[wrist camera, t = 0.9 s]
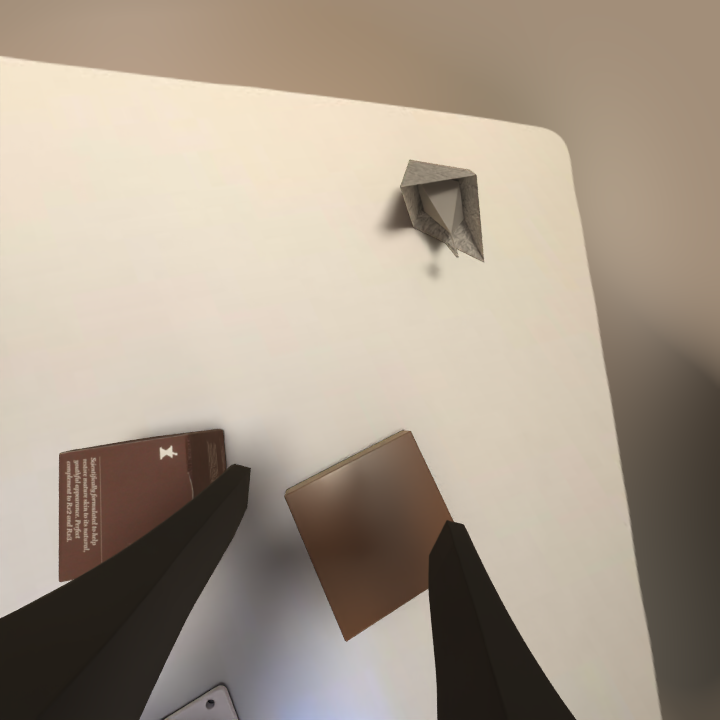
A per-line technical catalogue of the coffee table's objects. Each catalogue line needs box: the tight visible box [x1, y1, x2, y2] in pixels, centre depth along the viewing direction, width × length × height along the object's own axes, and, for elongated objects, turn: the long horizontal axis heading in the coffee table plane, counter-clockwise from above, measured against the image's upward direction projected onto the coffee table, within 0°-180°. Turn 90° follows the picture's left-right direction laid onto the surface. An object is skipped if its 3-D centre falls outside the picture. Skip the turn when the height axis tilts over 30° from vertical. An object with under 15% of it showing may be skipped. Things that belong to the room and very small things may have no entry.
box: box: [59, 429, 226, 582], centre depth 19 cm, size 6×6×7 cm
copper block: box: [285, 430, 454, 641], centre depth 23 cm, size 10×10×2 cm
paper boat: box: [400, 160, 484, 262], centre depth 27 cm, size 12×6×9 cm
